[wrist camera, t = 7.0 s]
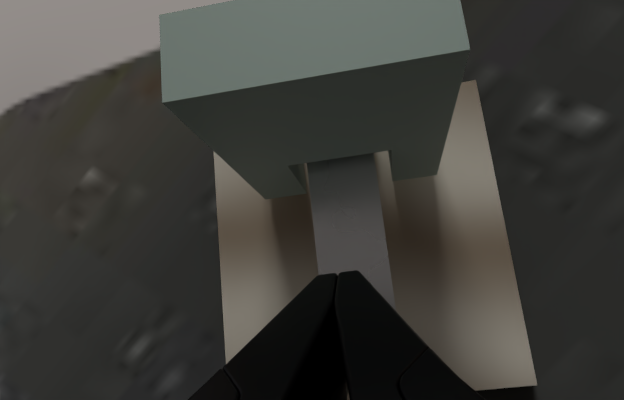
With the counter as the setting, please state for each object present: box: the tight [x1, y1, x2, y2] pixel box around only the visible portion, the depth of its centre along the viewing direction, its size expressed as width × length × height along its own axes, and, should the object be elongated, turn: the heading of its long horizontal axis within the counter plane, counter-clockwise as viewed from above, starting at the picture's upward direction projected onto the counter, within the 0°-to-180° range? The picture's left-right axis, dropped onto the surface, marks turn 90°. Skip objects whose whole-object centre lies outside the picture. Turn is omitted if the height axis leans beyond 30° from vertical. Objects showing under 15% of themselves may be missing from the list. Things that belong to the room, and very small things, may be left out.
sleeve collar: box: [159, 0, 470, 199], centre depth 14 cm, size 3×6×8 cm, turn 96°
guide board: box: [214, 80, 537, 400], centre depth 18 cm, size 10×10×1 cm
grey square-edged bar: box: [307, 153, 396, 310], centre depth 16 cm, size 10×2×4 cm, turn 6°
